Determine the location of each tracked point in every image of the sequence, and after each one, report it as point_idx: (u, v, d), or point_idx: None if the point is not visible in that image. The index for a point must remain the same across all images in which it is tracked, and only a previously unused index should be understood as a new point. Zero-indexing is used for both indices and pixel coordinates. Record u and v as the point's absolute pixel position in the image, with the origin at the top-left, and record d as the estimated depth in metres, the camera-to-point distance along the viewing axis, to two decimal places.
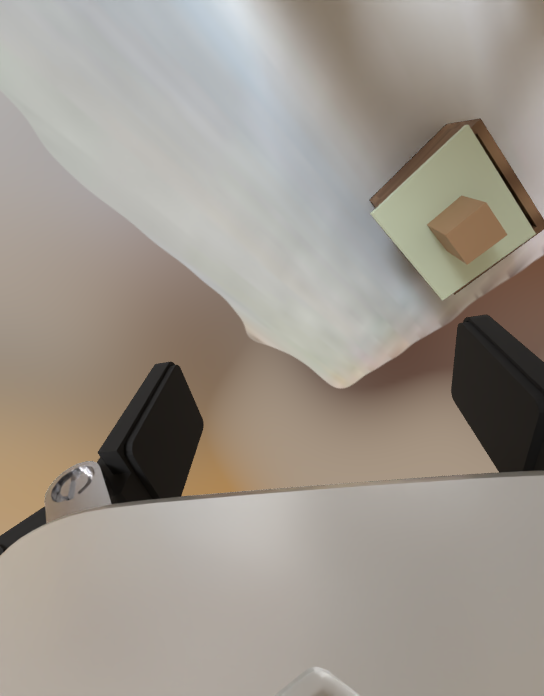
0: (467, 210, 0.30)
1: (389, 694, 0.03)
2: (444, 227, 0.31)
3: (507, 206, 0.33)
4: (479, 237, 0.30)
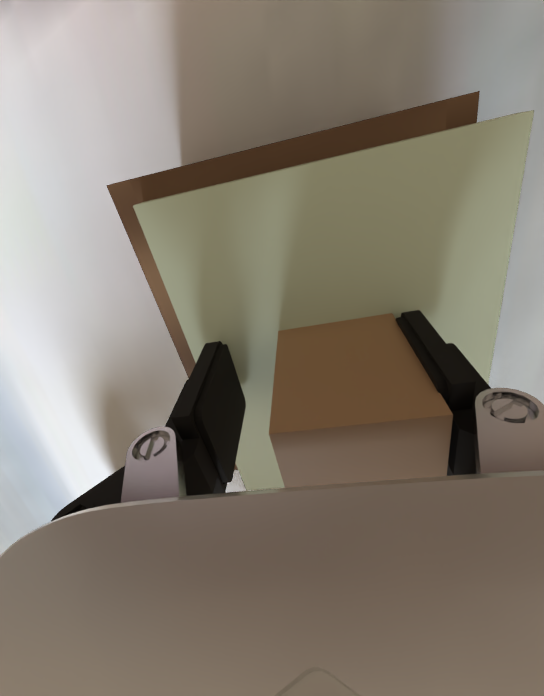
0: None
1: (389, 695, 0.03)
2: None
3: (206, 335, 0.12)
4: (358, 469, 0.08)
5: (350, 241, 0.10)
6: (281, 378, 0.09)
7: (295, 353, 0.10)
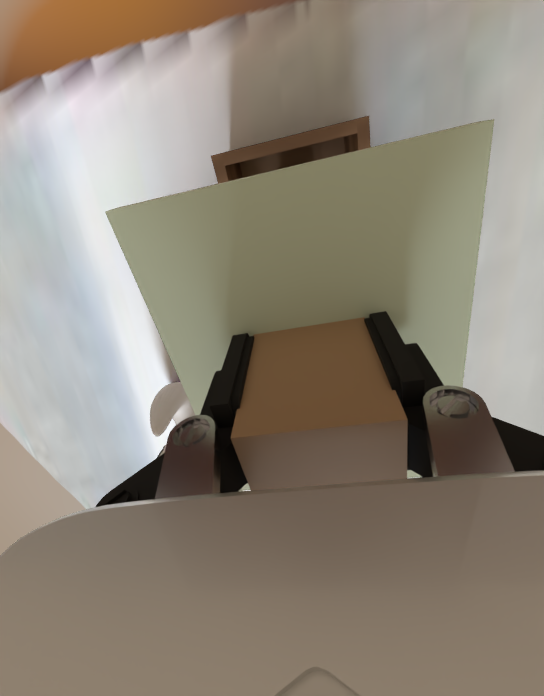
0: None
1: (389, 695, 0.03)
2: None
3: (182, 338, 0.12)
4: (320, 473, 0.08)
5: (320, 247, 0.10)
6: (250, 382, 0.09)
7: (266, 357, 0.10)
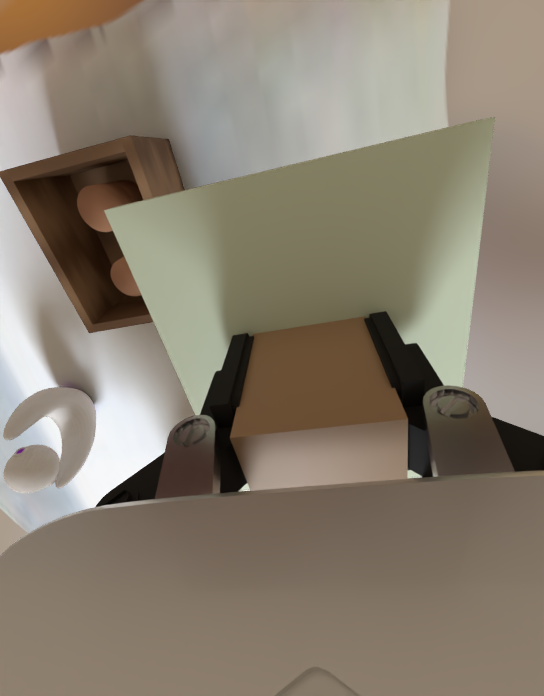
0: None
1: (389, 694, 0.03)
2: None
3: (182, 338, 0.12)
4: (320, 473, 0.08)
5: (320, 245, 0.10)
6: (249, 382, 0.09)
7: (266, 356, 0.10)
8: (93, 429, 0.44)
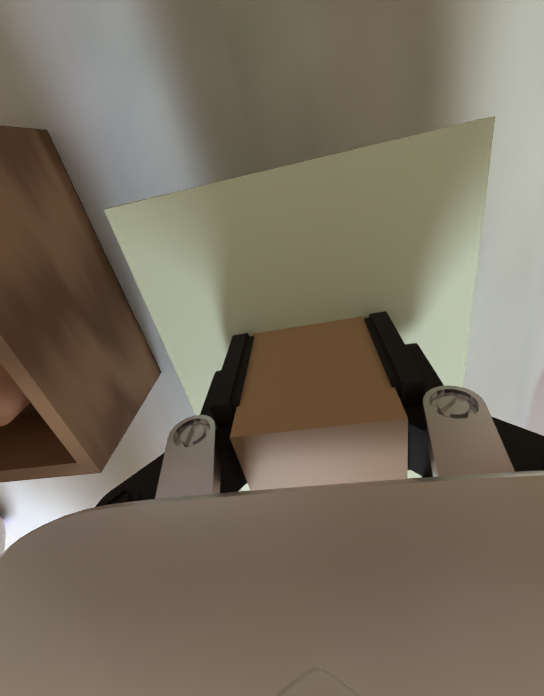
0: None
1: (389, 695, 0.03)
2: None
3: (182, 337, 0.12)
4: (320, 473, 0.08)
5: (320, 245, 0.10)
6: (249, 381, 0.09)
7: (266, 356, 0.10)
8: None
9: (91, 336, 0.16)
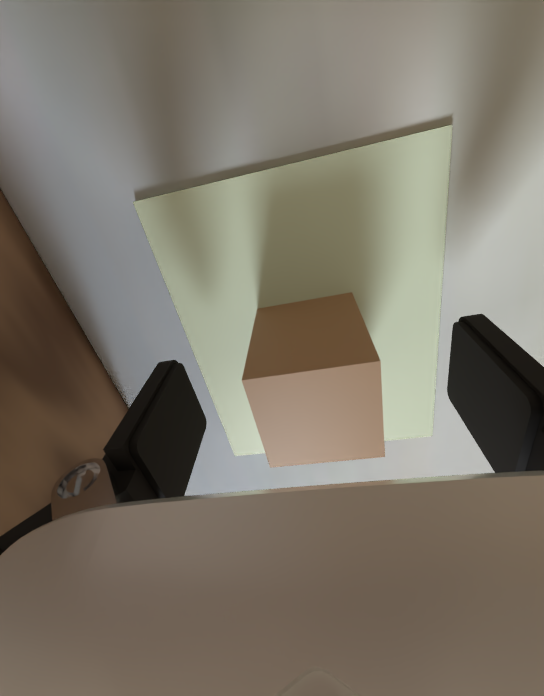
0: None
1: (389, 695, 0.03)
2: None
3: (195, 313, 0.14)
4: (313, 410, 0.10)
5: (313, 231, 0.12)
6: (255, 343, 0.11)
7: (269, 324, 0.12)
8: None
9: (24, 393, 0.12)
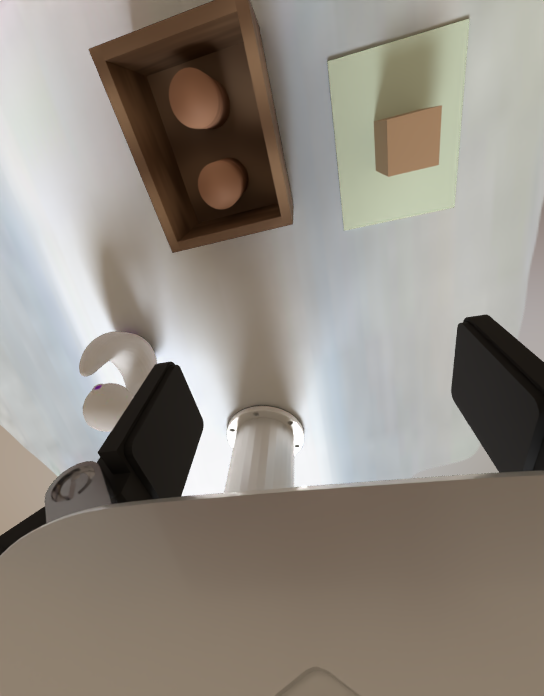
0: None
1: (389, 695, 0.03)
2: None
3: (342, 125, 0.29)
4: (412, 136, 0.25)
5: (406, 74, 0.27)
6: (383, 119, 0.26)
7: (385, 118, 0.27)
8: None
9: (280, 150, 0.27)
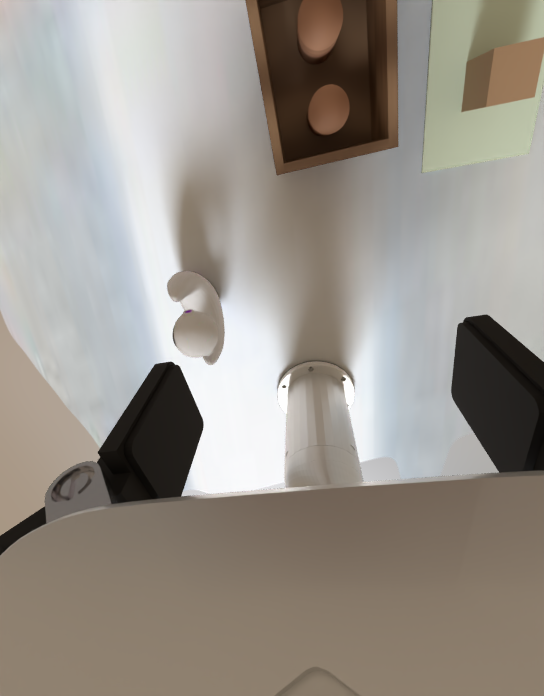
0: None
1: (389, 695, 0.03)
2: None
3: (437, 64, 0.31)
4: (515, 66, 0.27)
5: (503, 16, 0.29)
6: None
7: None
8: (223, 321, 0.44)
9: None
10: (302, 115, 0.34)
